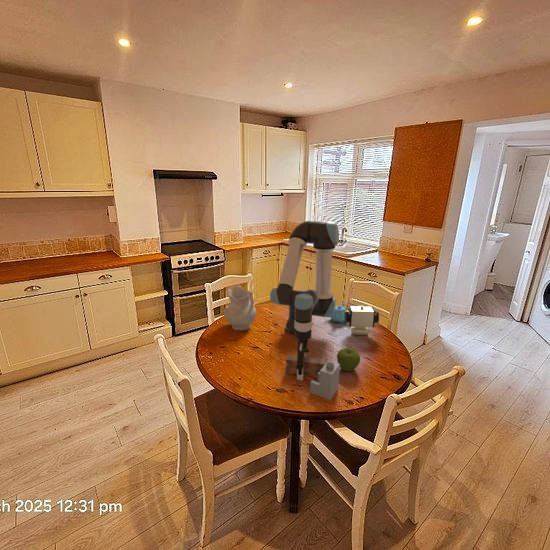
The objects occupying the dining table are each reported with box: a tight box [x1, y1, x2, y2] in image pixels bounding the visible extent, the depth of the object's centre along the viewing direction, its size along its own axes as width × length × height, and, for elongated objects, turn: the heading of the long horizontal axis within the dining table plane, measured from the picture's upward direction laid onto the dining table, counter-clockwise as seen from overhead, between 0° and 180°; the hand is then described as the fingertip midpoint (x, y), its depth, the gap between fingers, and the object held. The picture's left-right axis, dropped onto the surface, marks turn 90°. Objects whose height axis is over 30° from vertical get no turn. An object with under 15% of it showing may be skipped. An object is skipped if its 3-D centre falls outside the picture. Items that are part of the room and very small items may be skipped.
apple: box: [336, 347, 361, 372], centre depth 138 cm, size 11×10×10 cm
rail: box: [285, 354, 328, 378], centre depth 136 cm, size 18×4×7 cm, turn 77°
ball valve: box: [344, 305, 380, 336], centre depth 170 cm, size 18×8×18 cm, turn 84°
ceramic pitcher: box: [223, 285, 257, 331], centre depth 178 cm, size 22×20×25 cm
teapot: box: [330, 301, 347, 324], centre depth 188 cm, size 13×13×10 cm
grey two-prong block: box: [309, 359, 341, 401], centre depth 123 cm, size 9×8×14 cm
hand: (301, 371), depth 137 cm, fingers open, 11 cm apart
